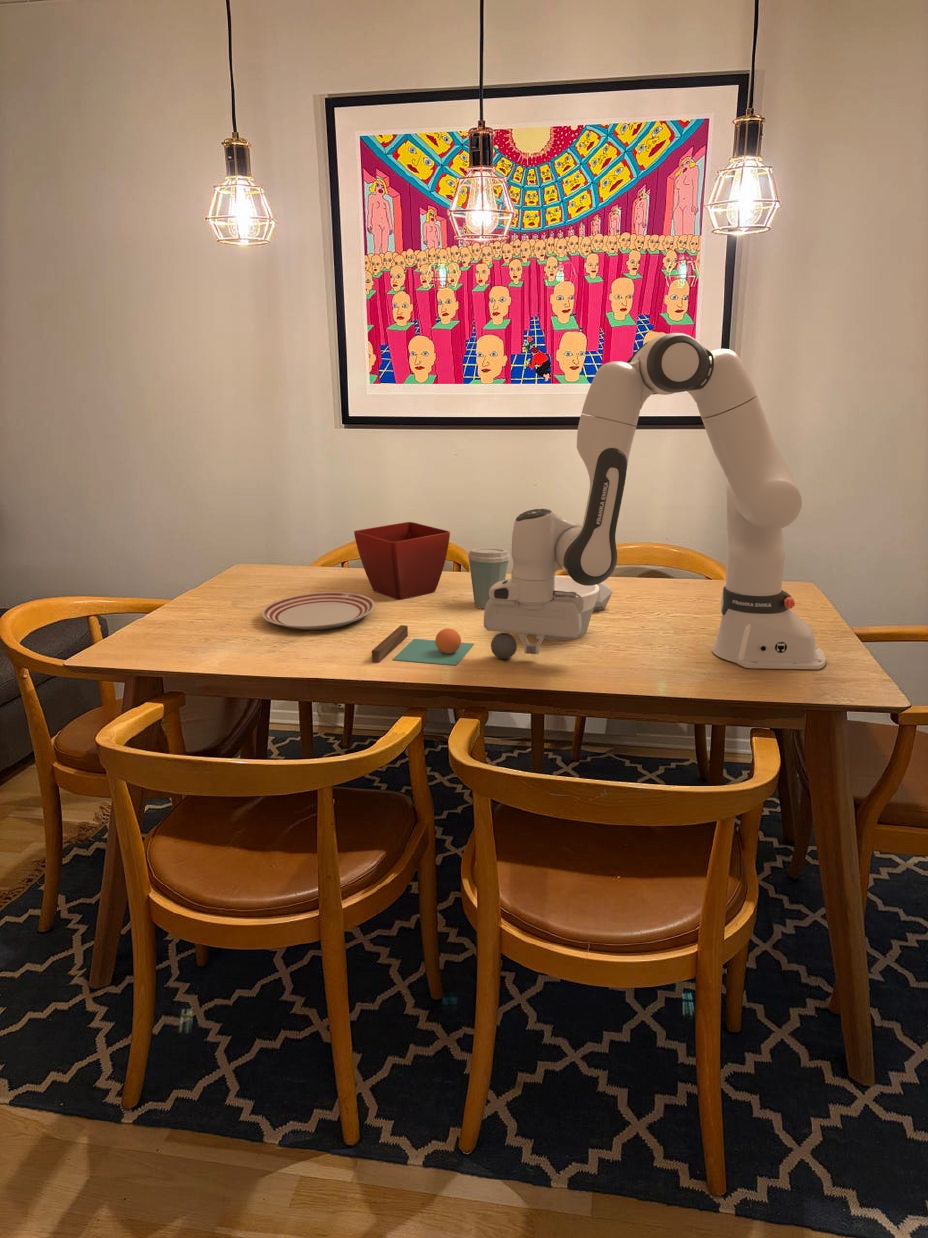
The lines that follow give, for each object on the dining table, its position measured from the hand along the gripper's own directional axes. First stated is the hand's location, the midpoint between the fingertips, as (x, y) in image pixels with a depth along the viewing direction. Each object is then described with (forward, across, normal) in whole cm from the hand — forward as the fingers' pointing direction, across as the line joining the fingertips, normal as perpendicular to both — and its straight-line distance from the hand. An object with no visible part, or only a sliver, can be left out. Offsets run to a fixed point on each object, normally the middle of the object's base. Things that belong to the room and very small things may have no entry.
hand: (531, 653), depth 176 cm
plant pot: (+2, +44, -45) cm, 63 cm away
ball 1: (-1, +18, 0) cm, 18 cm away
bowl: (+2, -2, -21) cm, 21 cm away
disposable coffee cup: (+2, +18, -37) cm, 41 cm away
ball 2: (-1, +6, 0) cm, 6 cm away
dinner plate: (+2, +56, -17) cm, 59 cm away
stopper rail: (+2, +32, 0) cm, 32 cm away
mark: (+2, +22, 0) cm, 22 cm away
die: (+2, -8, -41) cm, 42 cm away
